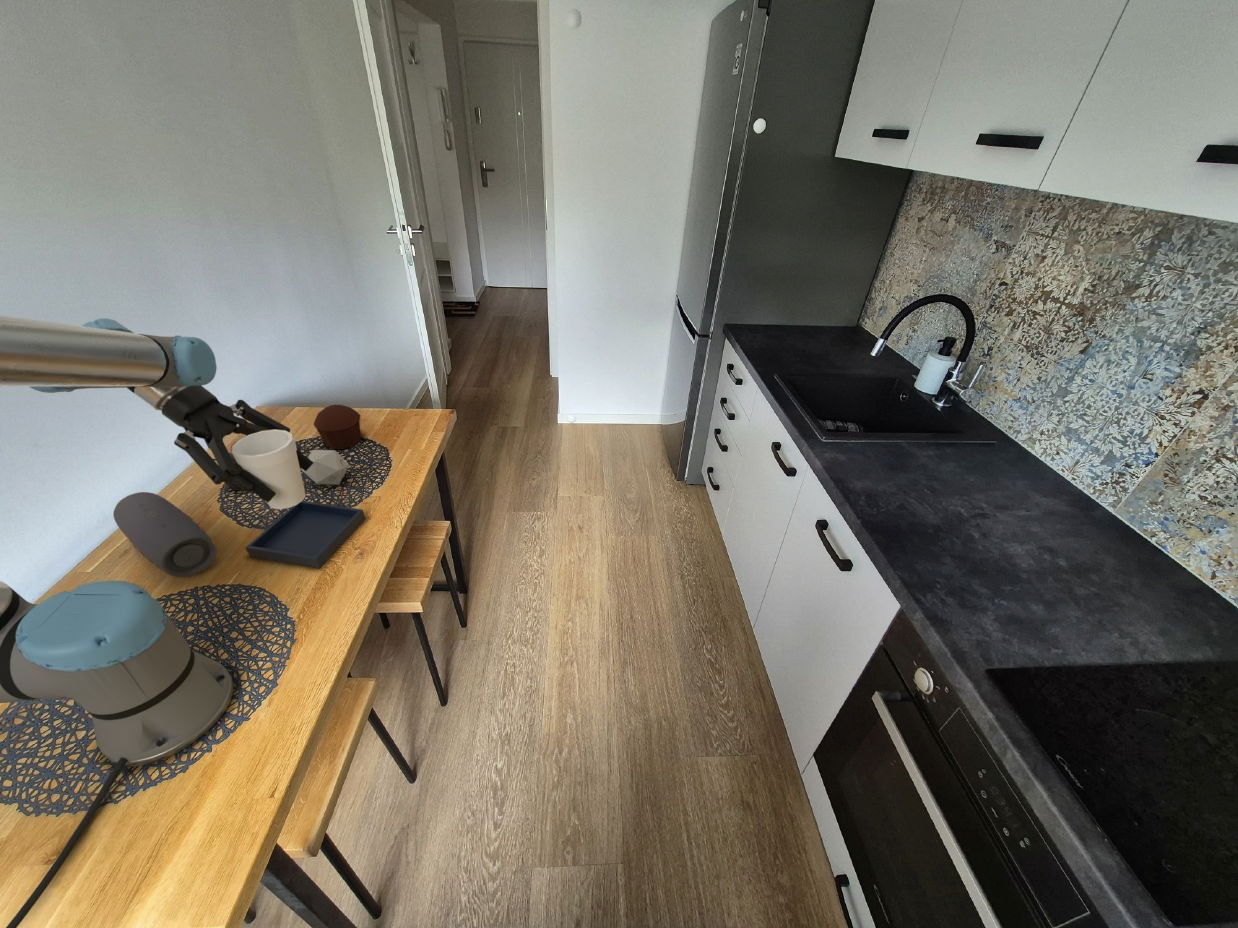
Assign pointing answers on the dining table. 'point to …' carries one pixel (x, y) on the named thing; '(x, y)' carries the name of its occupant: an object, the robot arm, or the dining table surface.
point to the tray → (306, 534)
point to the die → (326, 467)
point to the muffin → (338, 426)
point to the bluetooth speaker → (164, 534)
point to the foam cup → (272, 465)
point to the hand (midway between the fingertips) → (291, 481)
